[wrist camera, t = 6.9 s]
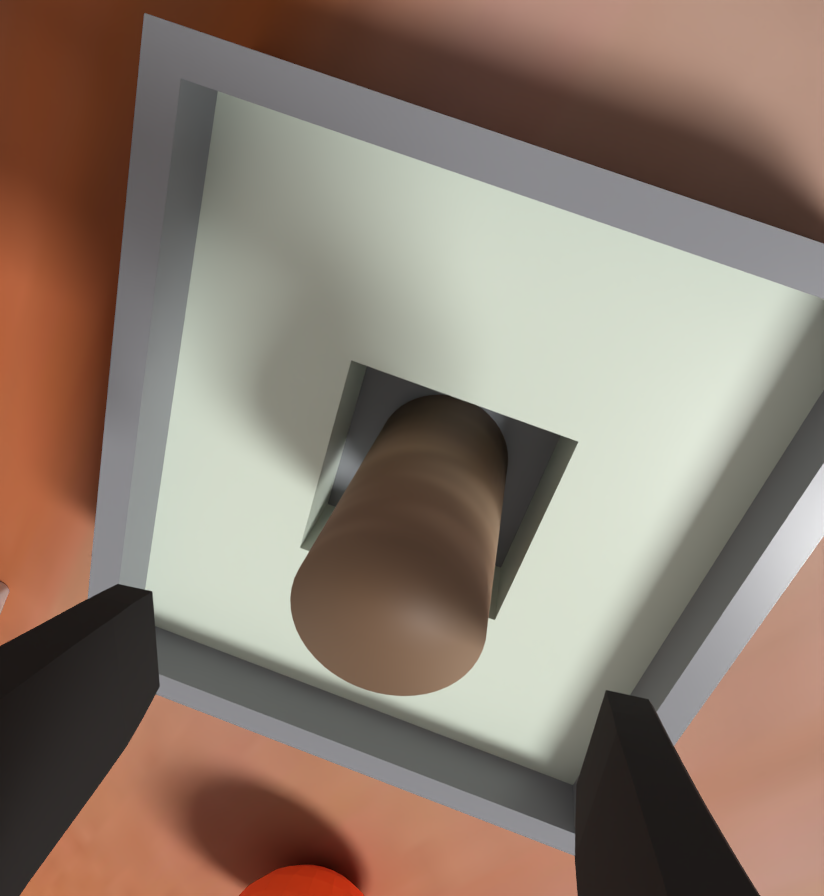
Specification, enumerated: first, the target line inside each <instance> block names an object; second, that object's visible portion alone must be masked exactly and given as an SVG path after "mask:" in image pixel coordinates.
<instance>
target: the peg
mask: <svg viewBox="0 0 824 896" xmlns="http://www.w3.org/2000/svg"><path fill="white" fill-rule="evenodd" d="M507 466H508V450H507V445H506V442H505V439H504V436H503V434H502V432H501V430H500V428H499V427H498V425H497V424H496V422H495V421H494V420H493V419H492V418H491V416H490V415H489V414H487V413H486V412H485V411H484V410H483V409H481V408H480V407H478V406H477V405H475V404H472V403H469V402H466V401H463V400H461V399H458V398H455V397H452V396H450V395H428V396H423V397H419V398H416V399H414V400H411V401H409V402H407V403H406V404H404V405H402V406H401V407H400V408H398V409H397V410H396V411H395V412H394V413H393V414H392V415H391V416H390V417H389V419H388V420H387V422H386V423H385V425H384V427H383V428H382V430H381V432H380V433H379V435H378V437H377V438H376V440H375V442H374V443H373V445H372V447H371V448H370V450H369V452H368V453H367V455H366V457H365V458H364V460H363V462H362V463H361V465H360V467H359V469H358V470H357V472H356V474H355V475H354V477H353V479H352V480H351V482H350V484H349V485H348V487H347V489H346V490H345V492H344V494H343V495H342V497H341V499H340V500H339V502H338V504H337V505H336V507H335V509H334V510H333V512H332V514H331V516H330V517H329V519H328V521H327V522H326V524H325V526H324V527H323V529H322V531H321V532H320V534H319V536H318V537H317V539H316V541H315V542H314V544H313V546H312V547H311V549H310V551H309V552H308V554H307V556H306V558H305V559H304V561H303V563H302V564H301V566H300V568H299V569H298V571H297V574H296V576H295V578H294V581H293V584H292V588H291V596H290V605H291V613H292V618H293V622H294V625H295V628H296V630H297V632H298V634H299V636H300V638H301V640H302V642H303V643H304V645H305V646H306V648H307V649H308V650H309V651H310V653H311V654H312V655H313V656H314V657H315V658H316V659H317V660H318V661H319V662H320V663H321V664H322V665H323V666H324V667H325V668H327V669H328V670H329V671H330V672H332V673H333V674H335V675H336V676H338V677H339V678H341V679H343V680H344V681H346V682H348V683H350V684H352V685H354V686H357V687H360V688H362V689H365V690H368V691H372V692H375V693H380V694H385V695H393V696H416V695H423V694H428V693H432V692H436V691H438V690H441V689H443V688H446V687H448V686H450V685H452V684H453V683H455V682H457V681H458V680H460V679H461V678H462V677H463V676H465V675H466V674H467V673H468V672H469V671H470V670H471V669H472V668H473V666H474V665H475V663H476V662H477V660H478V659H479V657H480V655H481V653H482V651H483V648H484V644H485V641H486V634H487V626H488V618H489V610H490V602H491V594H492V586H493V578H494V570H495V562H496V554H497V546H498V538H499V530H500V522H501V514H502V506H503V498H504V490H505V482H506V474H507Z"/></svg>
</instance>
